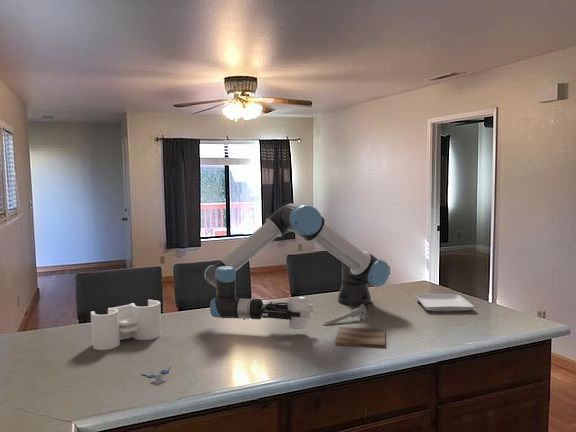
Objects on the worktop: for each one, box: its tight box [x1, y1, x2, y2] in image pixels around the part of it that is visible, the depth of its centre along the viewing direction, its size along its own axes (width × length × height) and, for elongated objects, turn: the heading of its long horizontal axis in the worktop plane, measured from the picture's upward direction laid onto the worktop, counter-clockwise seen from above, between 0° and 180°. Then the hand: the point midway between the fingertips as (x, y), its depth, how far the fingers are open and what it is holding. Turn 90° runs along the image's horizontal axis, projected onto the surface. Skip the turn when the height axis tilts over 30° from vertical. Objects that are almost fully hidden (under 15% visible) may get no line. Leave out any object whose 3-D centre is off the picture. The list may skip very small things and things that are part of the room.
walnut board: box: [335, 326, 386, 349], centre depth 176 cm, size 17×17×1 cm
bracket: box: [90, 299, 162, 351], centre depth 176 cm, size 25×10×12 cm, turn 133°
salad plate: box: [413, 293, 475, 312], centre depth 216 cm, size 21×21×3 cm
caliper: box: [322, 304, 367, 327], centre depth 195 cm, size 20×1×6 cm, turn 117°
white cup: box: [286, 297, 310, 330], centre depth 180 cm, size 8×8×10 cm
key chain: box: [141, 364, 173, 386], centre depth 145 cm, size 14×8×1 cm, turn 4°
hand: (311, 311), depth 179 cm, fingers closed on white cup, 8 cm apart
